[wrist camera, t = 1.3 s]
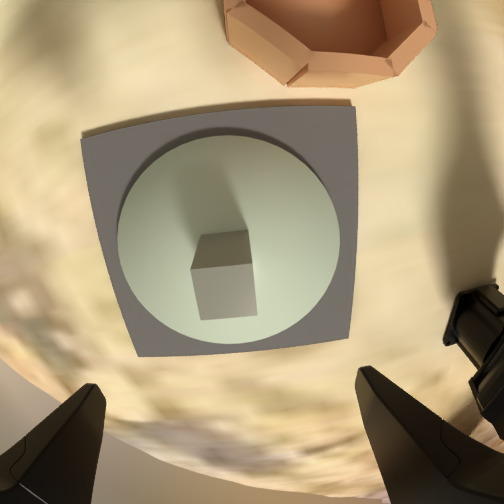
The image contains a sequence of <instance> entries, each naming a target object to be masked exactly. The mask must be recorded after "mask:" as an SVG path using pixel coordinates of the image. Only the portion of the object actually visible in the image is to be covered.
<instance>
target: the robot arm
mask: <svg viewBox="0 0 504 504" xmlns="http://www.w3.org/2000/svg"><path fill="white" fill-rule="evenodd" d="M498 289H499V286H498V285H497V284H492V285H488V286H484V287H480V288H477V289H473V290H469V291H465V292H461V293H460V294H459V295H458V296H457V299H456V303H455V306H454V310H453V313H452V317H451V320H450V323H449V326H448V330H447V333H446V336H445V339H444V341H443V344H444V345H445V346H450V345H453V344H456V343H457V345H458V346H459V347H460V348H461V350H462V351H463V352H464V353H465V354H466V356H467V357H468V358H469V359H470V361H471V362H472V363H473V365H474V366H475V367H476V368H477V370H478V371H477V372H476V373H475V375H474V376H473V377H471V379H470V380H469V381H468V383H469V385H470V387H471V390H472V393H473V395H474V398H475V400H476V403H477V405H478V408H479V410H480V413H481V415H482V416H483V417H484V418H485V419H486V420H487V421H489V422H490V423H492V425H493V426H494V428H495V430H496V432H497V433H498V435H499V437H500V439H502V440H504V295H503V294H502V293H501V292H499V291H498ZM355 391H356V395H357V399H358V403H359V407H360V411H361V416H362V420H363V424H364V427H365V430H366V433H367V436H368V439H369V441H370V444H371V447H372V450H373V452H374V455H375V458H376V461H377V464H378V467H379V469H380V472H381V475H382V478H383V481H384V484H385V487H386V490H387V493H388V496H389V499H390V502H391V504H504V454H503V453H500V452H498V451H495V450H493V449H491V448H490V447H488V446H486V445H484V444H482V443H480V442H478V441H476V440H475V439H473V438H471V437H469V436H468V435H466V434H464V433H462V432H461V431H459V430H458V429H456V428H455V427H453V426H452V425H450V424H449V423H448V422H446V421H445V420H442V418H441V417H439V416H438V415H437V414H435V413H434V412H432V411H431V410H430V409H428V408H427V407H426V406H424V405H423V404H422V403H420V402H419V401H418V400H416V399H415V398H413V397H412V396H411V395H409V394H408V393H407V392H405V391H404V390H403V389H401V388H400V387H399V386H397V385H396V384H395V383H393V382H392V381H391V380H389V379H388V378H387V377H385V376H384V375H383V374H381V373H380V372H379V371H377V370H376V369H375V368H373V367H372V366H364V367H360V368H359V369H358V371H357V376H356V381H355ZM105 411H106V399H105V397H104V395H103V393H102V392H101V390H100V388H99V387H98V385H97V384H93V383H86V384H85V385H83V386H82V387H81V388H80V389H79V390H78V391H76V392H75V393H74V394H73V395H72V396H71V397H69V398H68V399H67V400H66V401H65V402H64V403H62V404H61V405H60V406H59V407H58V408H57V409H55V410H54V411H53V412H52V413H51V414H50V415H49V416H47V417H46V418H45V419H44V420H43V421H42V422H40V423H39V424H38V425H37V426H36V427H35V428H33V429H32V430H31V431H30V432H29V433H28V434H27V435H26V436H24V437H23V438H22V439H21V440H20V441H18V442H17V443H16V444H15V445H14V446H12V447H11V448H10V449H8V450H7V451H6V452H4V453H3V454H2V455H0V504H91V499H92V492H93V486H94V480H95V474H96V469H97V463H98V457H99V453H100V448H101V443H102V437H103V429H104V419H105Z"/></svg>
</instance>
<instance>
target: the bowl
mask: <svg viewBox="0 0 504 504" xmlns="http://www.w3.org/2000/svg"><path fill="white" fill-rule="evenodd" d="M223 5H224V15H225V25H226V35H227V41H229V45H231V46H232V47H233V48H235V49H236V50H238V51H239V52H240V53H242V54H243V55H245V56H246V57H247V58H249V59H250V60H251V61H253V62H254V63H255V64H257V65H258V66H259V67H261V68H262V69H263V70H265V71H266V72H267V73H268V74H270V75H271V76H272V77H273V78H275V79H276V80H277V81H278V82H280V83H281V84H282V85H283V86H284V85H285V84H286V83H287V82H288V87H333V88H357V87H360V86H364V85H367V84H371V83H374V82H378V81H381V80H385V79H389V78H393V77H395V76H398V75H399V74H400V73H401V72H402V71H403V70H404V69H405V68H406V67H407V66H408V65H409V63H410V62H411V61H412V60H413V59H414V58H415V57H416V56H417V55H418V54H419V53H420V52H421V50H422V49H423V48H424V47H425V46H426V45H427V44H428V43H429V42H430V41H431V40H432V39H433V37H434V36H435V35H436V32H435V31H437V26H436V21H435V17H434V13H433V8H432V5H431V1H430V0H223Z"/></svg>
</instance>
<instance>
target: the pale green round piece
mask: <svg viewBox="0 0 504 504" xmlns="http://www.w3.org/2000/svg"><path fill="white" fill-rule="evenodd" d="M117 241H118V253H119V258H120V263H121V267H122V270H123V273H124V276H125V278H126V280H127V282H128V284H129V286H130V288H131V290H132V291H133V293H134V294H135V296H136V297H137V299H138V300H139V301H140V303H141V304H142V305H143V306H144V307H145V308H146V310H148V311H149V312H150V313H151V314H152V315H153V316H154V317H155V318H156V319H158V320H159V321H160V322H162V323H163V324H165V325H166V326H168V327H169V328H171V329H173V330H175V331H177V332H179V333H181V334H183V335H186V336H188V337H191V338H194V339H198V340H201V341H206V342H212V343H222V344H238V343H246V342H253V341H257V340H261V339H265V338H267V337H270V336H273V335H275V334H278V333H280V332H281V331H283V330H285V329H287V328H289V327H291V326H292V325H294V324H295V323H297V322H298V321H299V320H301V319H302V318H303V317H304V316H305V315H306V314H308V313H309V312H310V311H311V310H312V308H313V307H314V306H315V305H316V304H317V303H318V302H319V300H320V299H321V297H322V296H323V295H324V293H325V291H326V290H327V288H328V286H329V284H330V282H331V280H332V277H333V275H334V272H335V269H336V265H337V261H338V257H339V247H340V233H339V225H338V220H337V215H336V212H335V209H334V206H333V203H332V201H331V199H330V197H329V195H328V193H327V191H326V189H325V187H324V186H323V185H322V183H321V182H320V180H319V179H318V178H317V176H316V175H315V174H314V173H313V172H312V171H311V170H310V169H309V168H308V167H307V166H306V165H305V164H304V163H303V162H301V161H300V160H299V159H298V158H296V157H295V156H294V155H292V154H290V153H289V152H287V151H285V150H283V149H282V148H280V147H278V146H275V145H273V144H270V143H268V142H265V141H262V140H258V139H254V138H250V137H244V136H233V135H225V136H212V137H206V138H201V139H197V140H194V141H191V142H188V143H185V144H182V145H180V146H178V147H176V148H174V149H172V150H170V151H169V152H167V153H165V154H164V155H163V156H161V157H160V158H158V159H157V160H156V161H154V162H153V163H152V164H151V165H150V166H149V167H148V168H147V169H146V170H145V171H144V172H143V173H142V174H141V176H140V177H139V178H138V180H137V181H136V182H135V183H134V185H133V187H132V188H131V190H130V192H129V194H128V196H127V198H126V200H125V203H124V205H123V208H122V211H121V215H120V220H119V224H118V236H117Z"/></svg>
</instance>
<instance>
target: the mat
mask: <svg viewBox="0 0 504 504" xmlns="http://www.w3.org/2000/svg"><path fill="white" fill-rule="evenodd" d="M225 135H233V136H244V137H250V138H254V139H258V140H262V141H265V142H268V143H270V144H273V145H275V146H278V147H280V148H282V149H283V150H285V151H287V152H289V153H290V154H292V155H294V156H295V157H296V158H298V159H299V160H300V161H301V162H303V163H304V164H305V165H306V166H307V167H308V168H309V169H310V170H311V171H312V172H313V173H314V174H315V175H316V176H317V178H318V179H319V180H320V182H321V183H322V185H323V186H324V187H325V189H326V191H327V193H328V195H329V197H330V199H331V201H332V203H333V206H334V209H335V212H336V215H337V220H338V225H339V233H340V247H339V257H338V261H337V265H336V269H335V272H334V275H333V277H332V280H331V282H330V284H329V286H328V288H327V290H326V291H325V293H324V295H323V296H322V297H321V299H320V300H319V302H318V303H317V304H316V305H315V306H314V307H313V308H312V310H311V311H310V312H309V313H308V314H306V315H305V316H304V317H303V318H302V319H301V320H299V321H298V322H297V323H295V324H294V325H292V326H291V327H289V328H287V329H285V330H283V331H281V332H280V333H278V334H275V335H273V336H270V337H267V338H265V339H261V340H257V341H253V342H246V343H238V344H222V343H212V342H206V341H201V340H198V339H194V338H191V337H188V336H186V335H183V334H181V333H179V332H177V331H175V330H173V329H171V328H169V327H168V326H166V325H165V324H163V323H162V322H160V321H159V320H158V319H156V318H155V317H154V316H153V315H152V314H151V313H150V312H149V311H148V310H146V308H145V307H144V306H143V305H142V304H141V303H140V301H139V300H138V299H137V297H136V296H135V294H134V293H133V291H132V290H131V288H130V286H129V284H128V282H127V280H126V278H125V276H124V273H123V270H122V267H121V263H120V258H119V253H118V241H117V236H118V224H119V220H120V215H121V211H122V208H123V205H124V203H125V200H126V198H127V196H128V194H129V192H130V190H131V188H132V187H133V185H134V183H135V182H136V181H137V180H138V178H139V177H140V176H141V174H142V173H143V172H144V171H145V170H146V169H147V168H148V167H149V166H150V165H151V164H152V163H153V162H154V161H156V160H157V159H158V158H160V157H161V156H163V155H164V154H165V153H167V152H169V151H170V150H172V149H174V148H176V147H178V146H180V145H182V144H185V143H188V142H191V141H194V140H197V139H201V138H206V137H212V136H225ZM80 141H81V148H82V155H83V162H84V168H85V174H86V180H87V186H88V191H89V196H90V201H91V206H92V210H93V215H94V219H95V224H96V228H97V232H98V236H99V240H100V244H101V248H102V251H103V255H104V259H105V262H106V266H107V269H108V273H109V276H110V279H111V282H112V286H113V289H114V292H115V295H116V298H117V301H118V304H119V307H120V310H121V313H122V316H123V318H124V321H125V324H126V327H127V329H128V332H129V335H130V337H131V340H132V342H133V345H134V347H135V350H136V352H137V355H138V357H168V356H195V355H213V354H227V353H239V352H251V351H261V350H270V349H279V348H287V347H295V346H302V345H309V344H316V343H323V342H329V341H335V340H341V339H347V338H349V330H350V321H351V312H352V303H353V292H354V281H355V267H356V251H357V229H358V145H357V124H356V108H355V106H281V107H263V108H249V109H238V110H228V111H219V112H210V113H203V114H196V115H189V116H182V117H176V118H170V119H165V120H159V121H154V122H149V123H144V124H139V125H135V126H130V127H126V128H122V129H117V130H113V131H109V132H105V133H101V134H98V135H94V136H90V137H87V138H83V139H80Z"/></svg>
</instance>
